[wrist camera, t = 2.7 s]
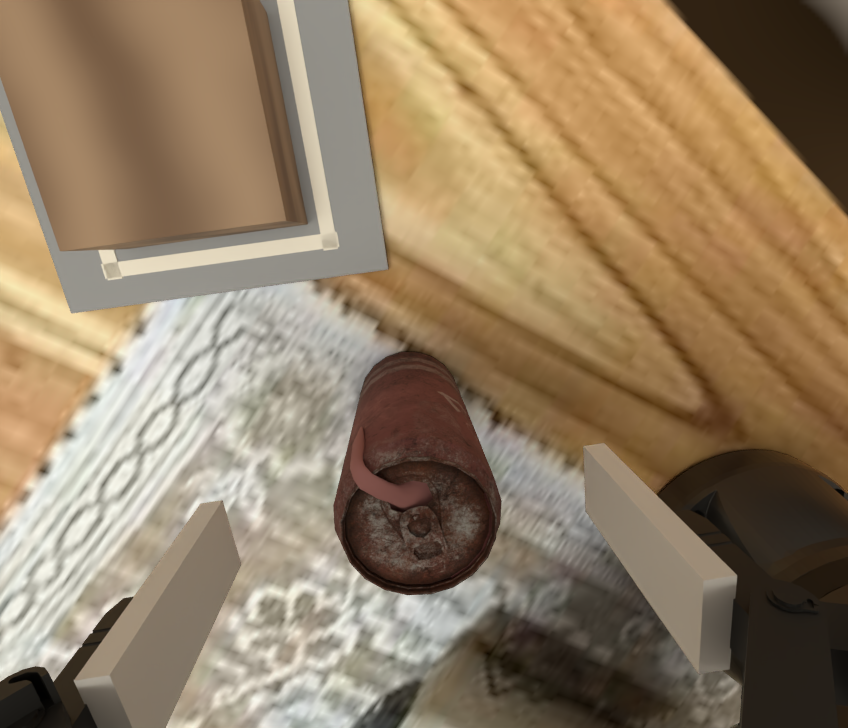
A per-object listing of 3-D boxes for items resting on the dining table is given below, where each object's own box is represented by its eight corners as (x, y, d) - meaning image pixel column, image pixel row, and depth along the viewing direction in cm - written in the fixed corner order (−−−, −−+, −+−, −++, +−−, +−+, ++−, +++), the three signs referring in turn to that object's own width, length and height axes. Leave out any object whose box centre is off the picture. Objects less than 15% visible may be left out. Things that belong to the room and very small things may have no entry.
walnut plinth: (266, 13, 22) (230, -51, 17) (307, 224, 25) (286, 220, 20) (62, 38, 22) (-33, -18, 17) (126, 249, 25) (59, 251, 20)
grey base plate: (339, -58, 22) (336, -73, 21) (388, 268, 27) (388, 269, 26) (-27, -13, 22) (-49, -26, 21) (83, 310, 26) (70, 313, 25)
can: (395, 327, 28) (393, 411, 14) (475, 385, 29) (543, 513, 15) (339, 403, 29) (287, 547, 15) (418, 455, 30) (435, 632, 17)
